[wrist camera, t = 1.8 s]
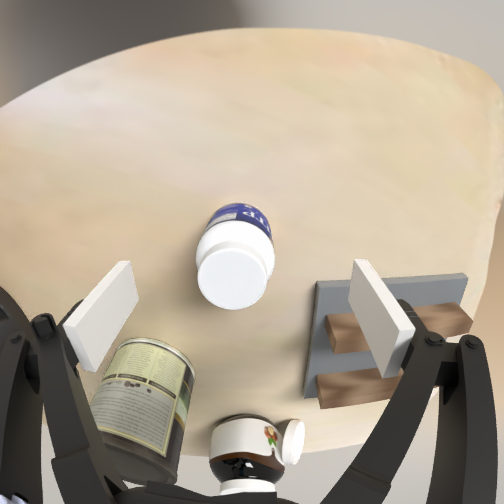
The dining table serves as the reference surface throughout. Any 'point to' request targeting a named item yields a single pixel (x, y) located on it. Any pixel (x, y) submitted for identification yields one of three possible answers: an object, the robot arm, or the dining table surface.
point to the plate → (336, 302)
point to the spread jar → (253, 453)
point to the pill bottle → (235, 256)
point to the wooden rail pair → (353, 340)
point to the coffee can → (144, 409)
